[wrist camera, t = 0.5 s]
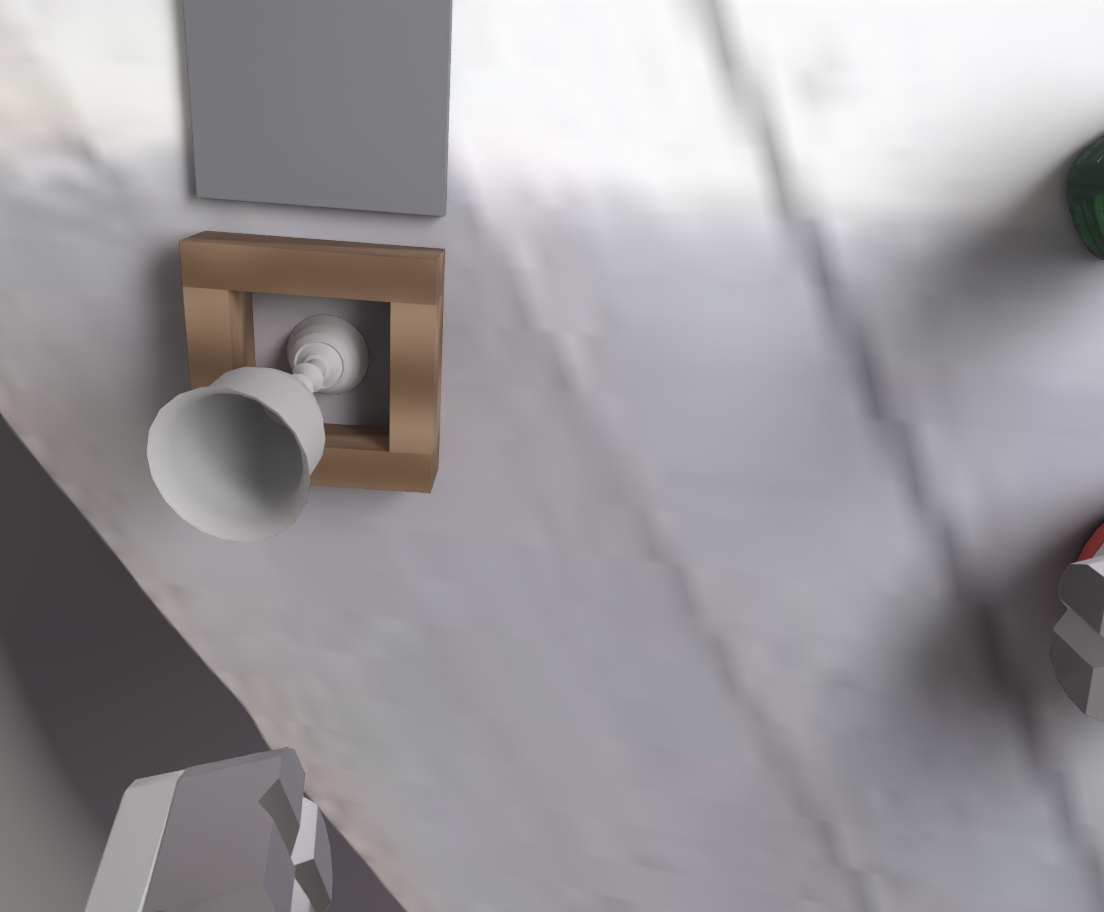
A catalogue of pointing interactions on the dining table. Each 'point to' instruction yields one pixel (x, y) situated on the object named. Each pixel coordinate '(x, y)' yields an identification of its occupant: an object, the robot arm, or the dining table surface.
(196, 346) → the walnut holder
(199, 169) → the grey mat
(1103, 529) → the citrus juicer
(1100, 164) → the coffee jar
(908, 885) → the dining table surface
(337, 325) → the chalice
